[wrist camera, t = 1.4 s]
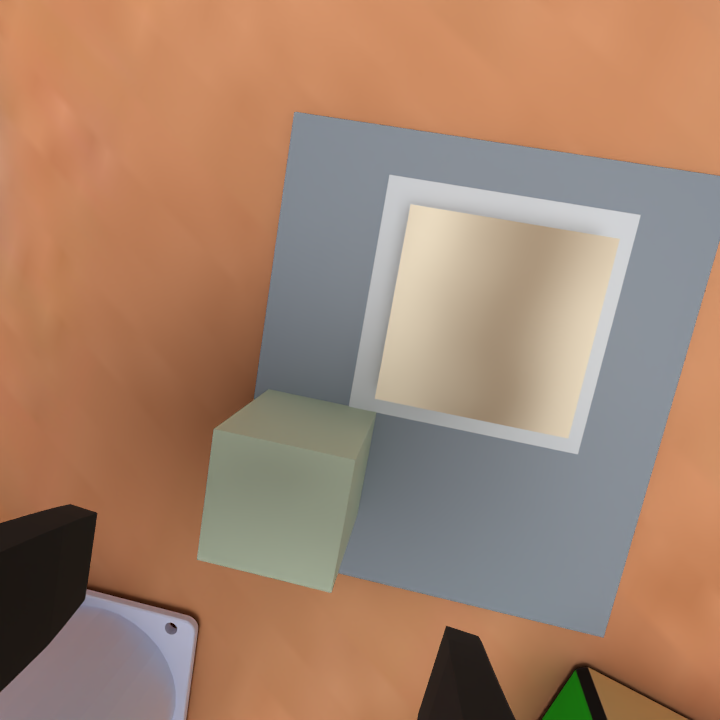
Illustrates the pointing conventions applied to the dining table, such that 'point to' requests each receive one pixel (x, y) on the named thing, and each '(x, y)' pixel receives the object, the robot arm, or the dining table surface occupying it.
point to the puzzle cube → (603, 701)
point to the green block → (285, 488)
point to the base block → (494, 319)
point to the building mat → (470, 436)
